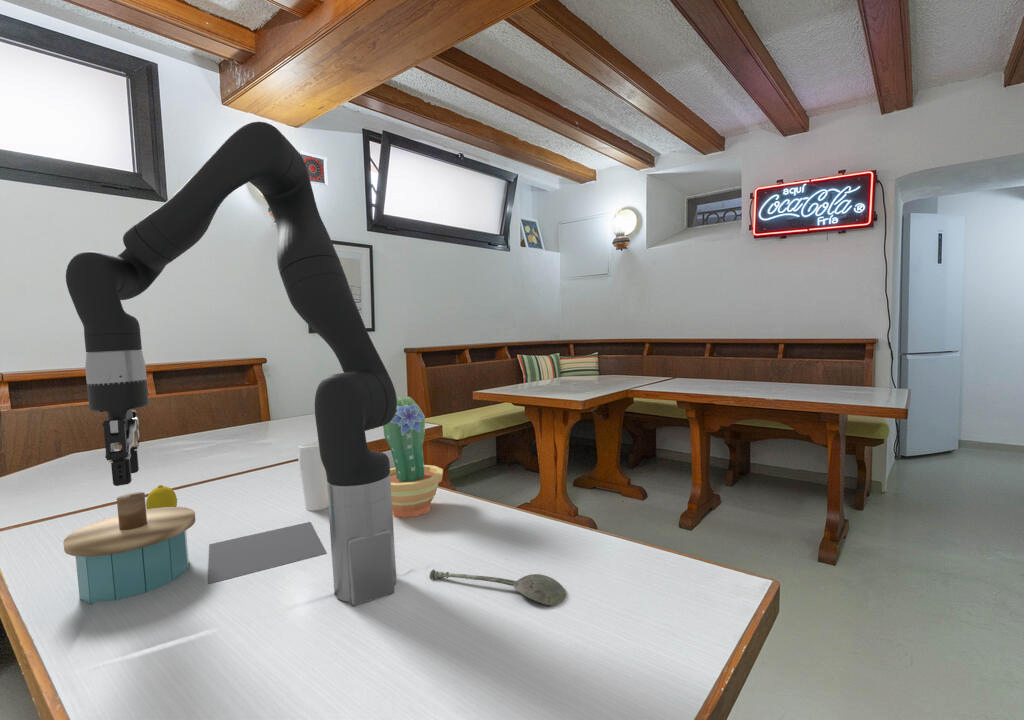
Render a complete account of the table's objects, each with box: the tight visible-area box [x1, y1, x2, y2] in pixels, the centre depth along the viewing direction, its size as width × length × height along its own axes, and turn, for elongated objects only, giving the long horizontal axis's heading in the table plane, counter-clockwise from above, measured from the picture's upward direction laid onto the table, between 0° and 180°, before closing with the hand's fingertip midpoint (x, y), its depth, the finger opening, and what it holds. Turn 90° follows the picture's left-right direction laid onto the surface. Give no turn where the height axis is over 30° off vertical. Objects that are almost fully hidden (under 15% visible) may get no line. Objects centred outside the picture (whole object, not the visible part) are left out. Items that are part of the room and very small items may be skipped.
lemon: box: [145, 484, 178, 510], centre depth 107 cm, size 6×6×8 cm
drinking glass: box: [297, 440, 329, 512], centre depth 111 cm, size 7×7×15 cm
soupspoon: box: [428, 568, 567, 607], centre depth 73 cm, size 22×3×7 cm
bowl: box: [75, 530, 190, 605], centre depth 80 cm, size 14×14×8 cm
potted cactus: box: [382, 396, 444, 518], centre depth 107 cm, size 15×15×25 cm
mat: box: [206, 521, 328, 585], centre depth 89 cm, size 18×18×1 cm
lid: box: [62, 491, 196, 557], centre depth 80 cm, size 17×17×6 cm
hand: (126, 478), depth 79 cm, fingers open, 8 cm apart
